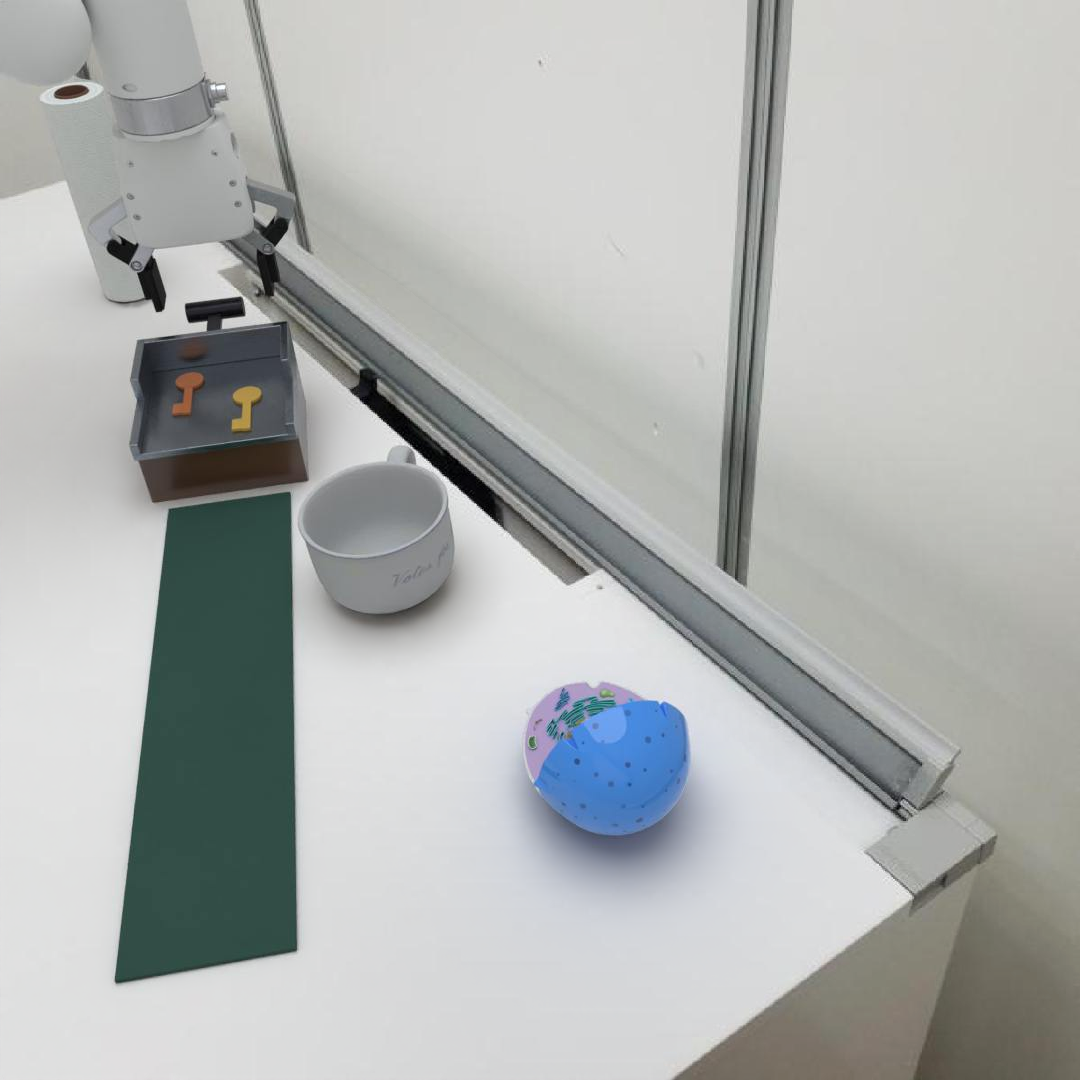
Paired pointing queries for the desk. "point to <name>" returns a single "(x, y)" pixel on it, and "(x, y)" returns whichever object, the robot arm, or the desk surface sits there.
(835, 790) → the desk surface
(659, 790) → the cell model
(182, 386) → the copper key
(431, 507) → the teacup
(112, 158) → the paper towel roll
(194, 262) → the desk surface
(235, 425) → the brass key
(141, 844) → the mat
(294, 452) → the stand
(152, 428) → the grey letter tray
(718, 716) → the desk surface
